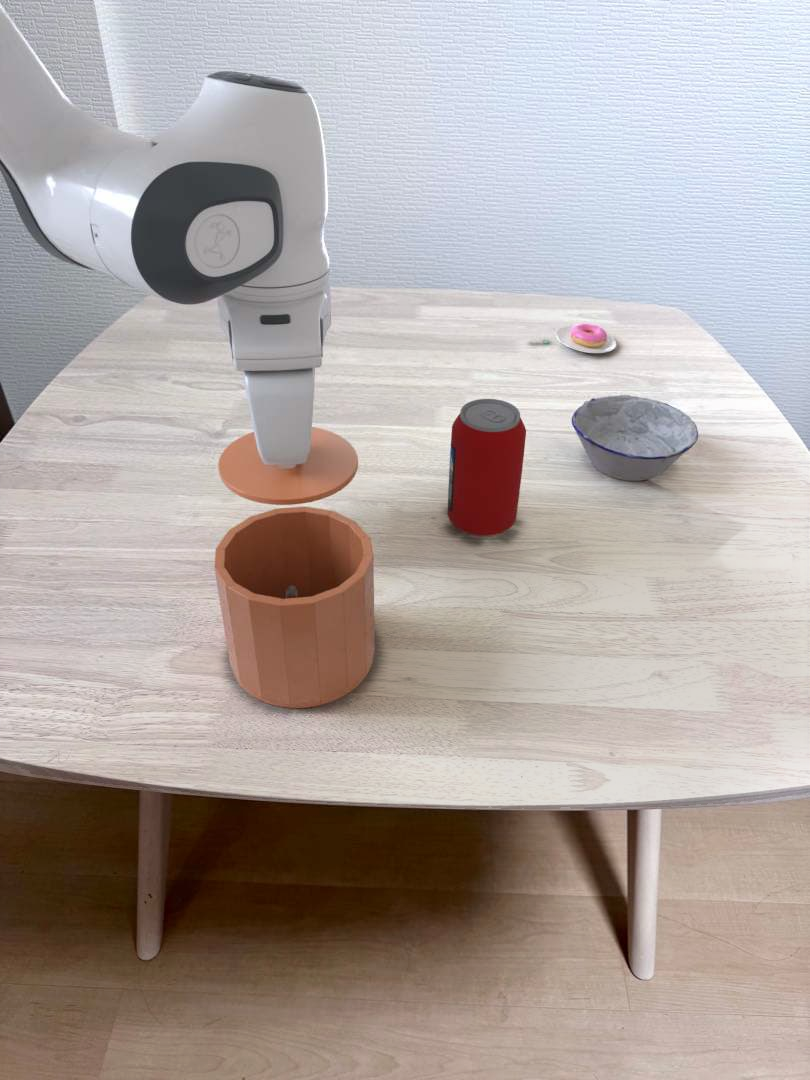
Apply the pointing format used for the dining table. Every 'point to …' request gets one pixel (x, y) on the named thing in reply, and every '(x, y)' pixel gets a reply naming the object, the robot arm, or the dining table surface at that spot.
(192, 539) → the dining table surface
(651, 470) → the bowl
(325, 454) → the lid
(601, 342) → the donut
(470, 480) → the beverage can
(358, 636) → the terracotta faceted cylinder
